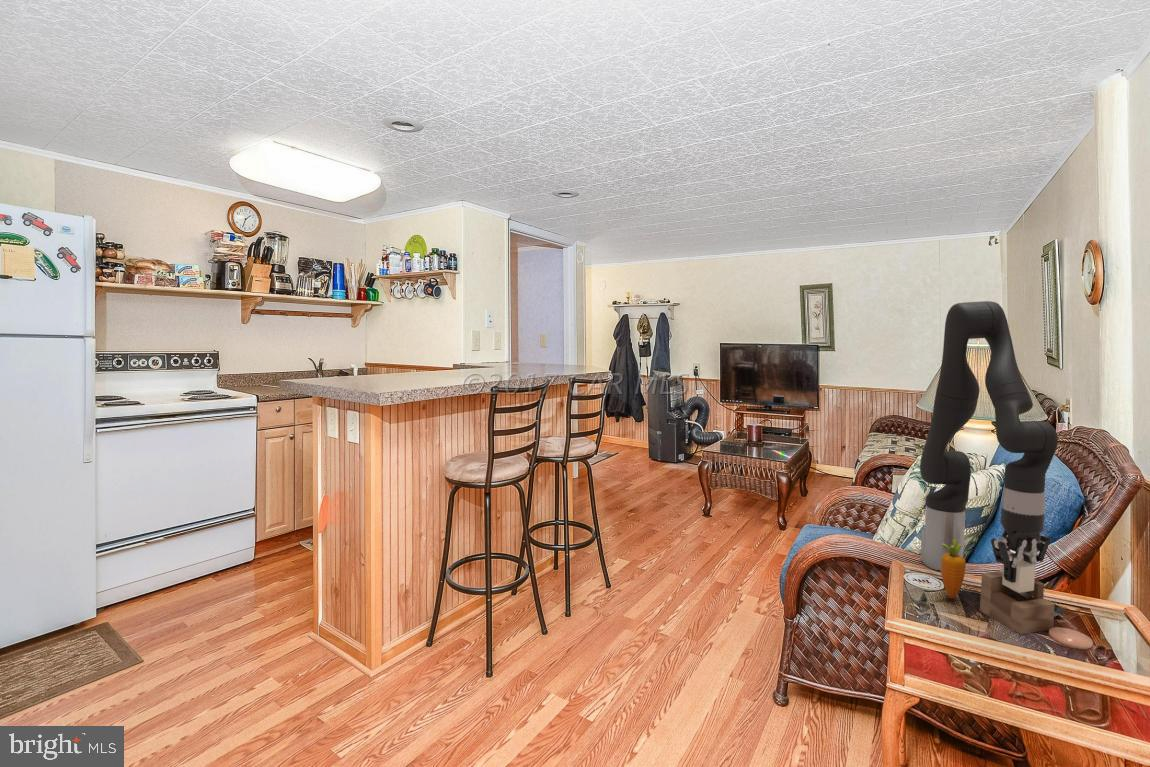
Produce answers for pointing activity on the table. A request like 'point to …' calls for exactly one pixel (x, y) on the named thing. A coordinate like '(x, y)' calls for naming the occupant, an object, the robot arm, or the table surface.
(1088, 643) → the terracotta dish
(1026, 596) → the dark grey long block
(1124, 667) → the table surface
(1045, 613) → the box
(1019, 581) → the cream block
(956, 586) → the carrot
